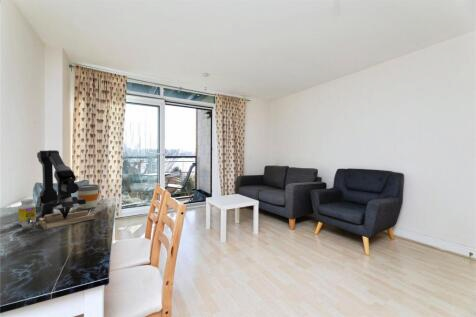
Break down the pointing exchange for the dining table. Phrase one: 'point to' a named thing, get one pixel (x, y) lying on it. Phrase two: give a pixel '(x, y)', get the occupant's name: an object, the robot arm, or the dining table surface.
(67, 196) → the robot arm
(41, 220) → the bay
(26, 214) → the supplement bottle
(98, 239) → the dining table surface
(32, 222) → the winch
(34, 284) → the dining table surface
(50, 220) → the cardboard box
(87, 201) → the reusable coffee cup
